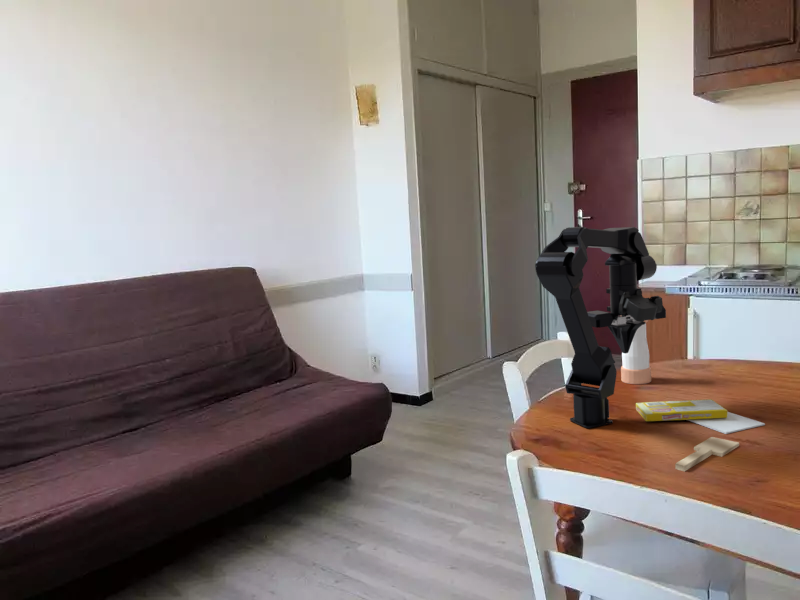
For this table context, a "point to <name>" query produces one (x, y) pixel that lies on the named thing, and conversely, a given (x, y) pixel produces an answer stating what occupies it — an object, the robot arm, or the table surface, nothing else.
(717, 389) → the table surface
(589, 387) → the robot arm
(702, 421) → the felt mat
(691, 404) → the candy box
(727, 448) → the wooden turner
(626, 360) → the pepper shaker
